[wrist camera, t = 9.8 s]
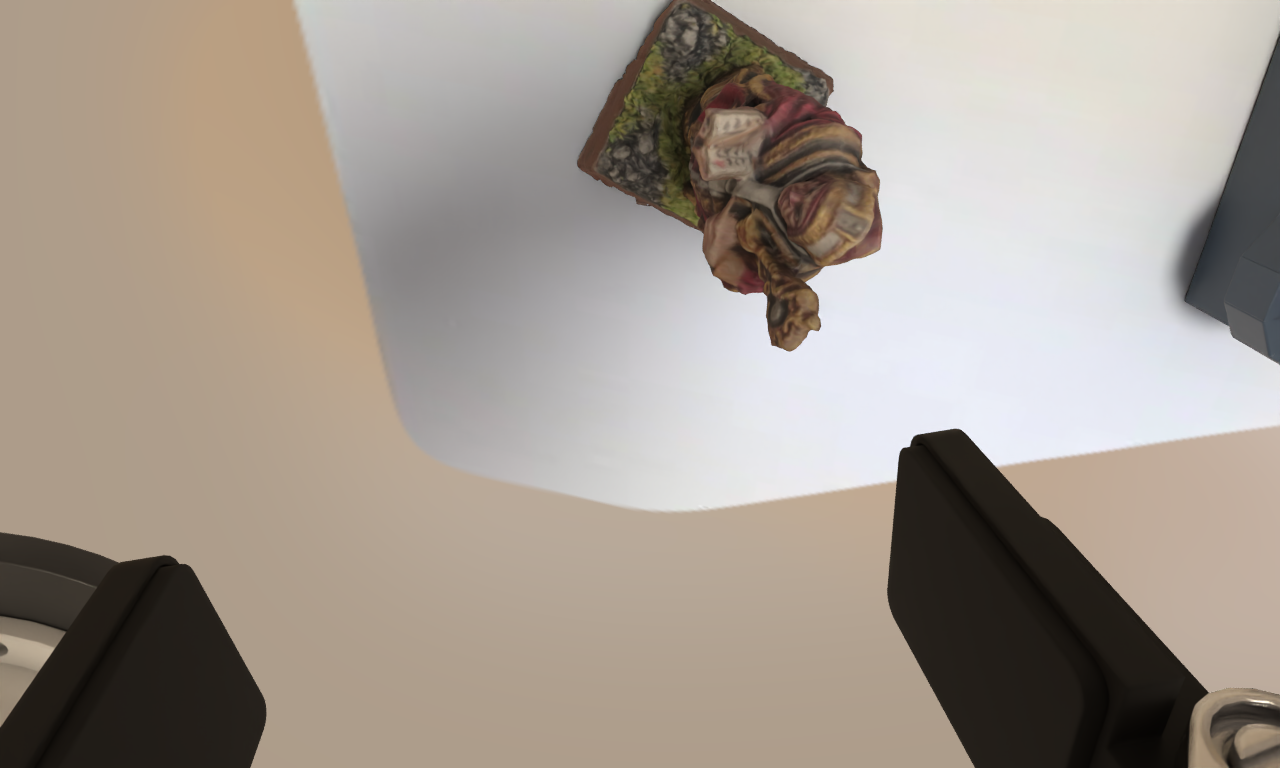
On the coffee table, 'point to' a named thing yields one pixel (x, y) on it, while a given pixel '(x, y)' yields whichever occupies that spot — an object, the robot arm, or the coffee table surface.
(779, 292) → the figurine
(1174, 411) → the coffee table surface
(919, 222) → the coffee table surface
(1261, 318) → the button box
